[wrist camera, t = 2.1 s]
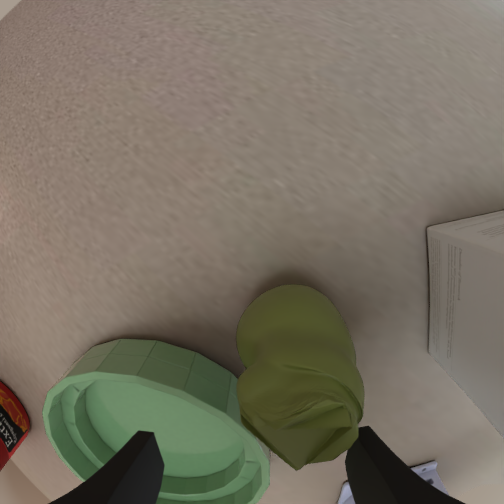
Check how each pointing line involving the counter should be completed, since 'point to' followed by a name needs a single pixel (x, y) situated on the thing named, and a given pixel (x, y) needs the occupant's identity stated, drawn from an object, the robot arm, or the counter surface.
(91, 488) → the robot arm
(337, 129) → the counter surface
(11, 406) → the canned food
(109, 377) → the bowl
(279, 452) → the pear
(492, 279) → the white product box
